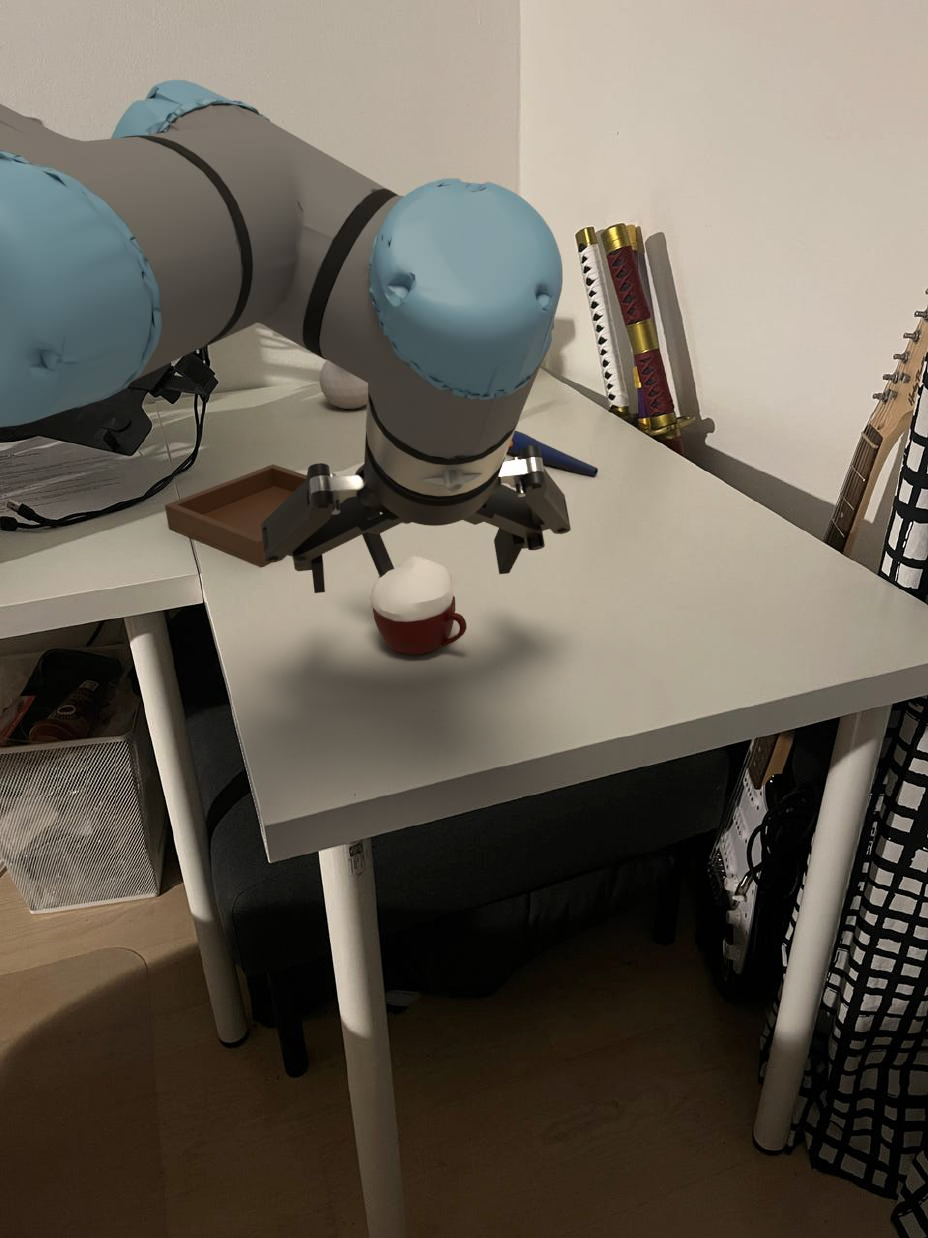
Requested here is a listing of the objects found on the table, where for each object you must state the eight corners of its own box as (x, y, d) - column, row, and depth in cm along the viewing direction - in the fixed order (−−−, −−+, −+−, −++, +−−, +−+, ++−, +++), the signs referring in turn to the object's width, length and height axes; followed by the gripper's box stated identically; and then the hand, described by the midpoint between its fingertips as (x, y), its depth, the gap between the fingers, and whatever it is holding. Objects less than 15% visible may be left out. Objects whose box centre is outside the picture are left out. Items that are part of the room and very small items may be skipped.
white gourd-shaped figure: (363, 394, 131) (357, 303, 125) (397, 412, 124) (392, 317, 118) (312, 403, 128) (303, 310, 122) (344, 423, 121) (337, 325, 115)
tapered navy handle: (602, 483, 106) (607, 462, 105) (583, 486, 103) (588, 464, 102) (496, 440, 115) (500, 419, 114) (476, 441, 112) (480, 420, 111)
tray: (261, 567, 86) (257, 541, 85) (168, 528, 94) (164, 504, 93) (367, 517, 96) (365, 494, 94) (275, 486, 103) (272, 463, 102)
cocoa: (480, 655, 73) (479, 508, 67) (409, 681, 70) (401, 530, 64) (415, 605, 80) (409, 467, 74) (348, 627, 77) (335, 486, 71)
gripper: (199, 524, 48) (242, 633, 68) (677, 481, 52) (583, 596, 72) (188, 388, 50) (233, 533, 70) (650, 356, 54) (566, 503, 74)
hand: (410, 565), depth 71 cm, fingers open, 13 cm apart
